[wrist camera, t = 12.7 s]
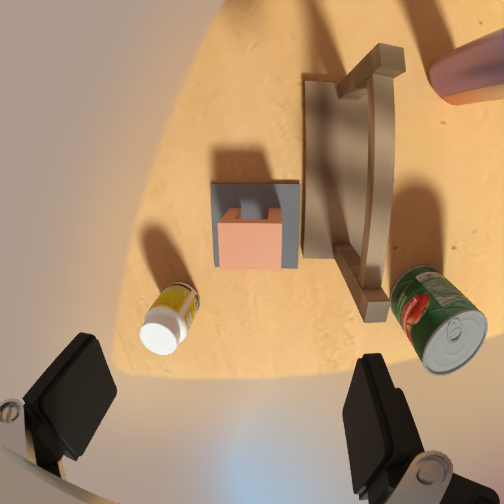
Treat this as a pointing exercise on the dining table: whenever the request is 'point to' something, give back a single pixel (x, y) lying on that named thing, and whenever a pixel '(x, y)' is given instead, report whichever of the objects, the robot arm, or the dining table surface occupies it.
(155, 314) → the supplement bottle
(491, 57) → the beverage can
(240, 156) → the dining table surface
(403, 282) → the canned tomato
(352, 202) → the stand
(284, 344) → the dining table surface
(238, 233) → the c link
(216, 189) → the mat
